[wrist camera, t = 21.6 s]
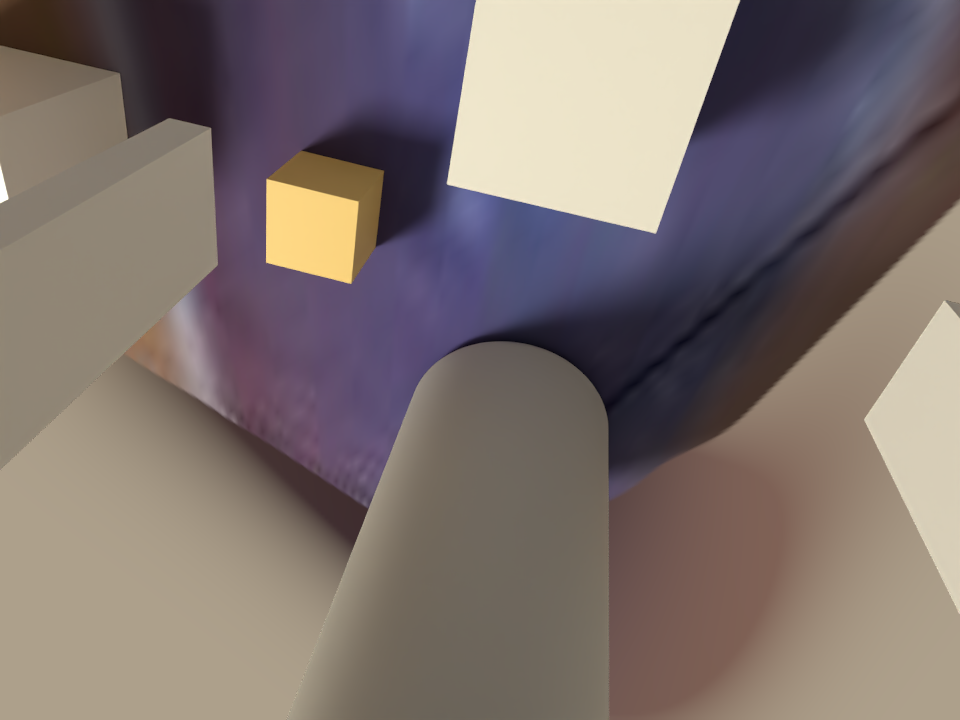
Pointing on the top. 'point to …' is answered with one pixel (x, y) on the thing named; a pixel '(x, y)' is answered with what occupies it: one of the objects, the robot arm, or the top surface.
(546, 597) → the cylinder vase
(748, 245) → the top surface
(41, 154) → the cover
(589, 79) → the cover
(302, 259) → the block
